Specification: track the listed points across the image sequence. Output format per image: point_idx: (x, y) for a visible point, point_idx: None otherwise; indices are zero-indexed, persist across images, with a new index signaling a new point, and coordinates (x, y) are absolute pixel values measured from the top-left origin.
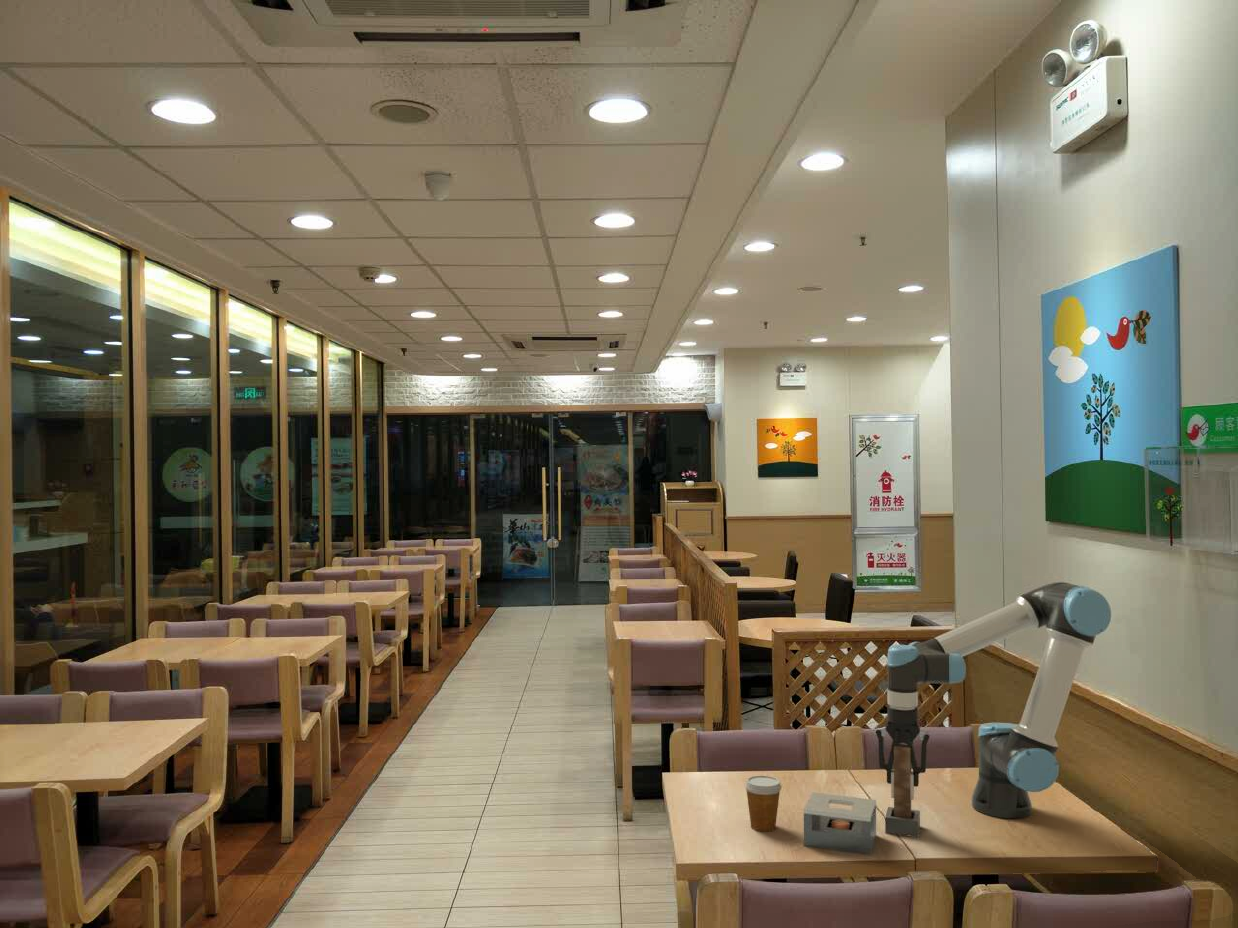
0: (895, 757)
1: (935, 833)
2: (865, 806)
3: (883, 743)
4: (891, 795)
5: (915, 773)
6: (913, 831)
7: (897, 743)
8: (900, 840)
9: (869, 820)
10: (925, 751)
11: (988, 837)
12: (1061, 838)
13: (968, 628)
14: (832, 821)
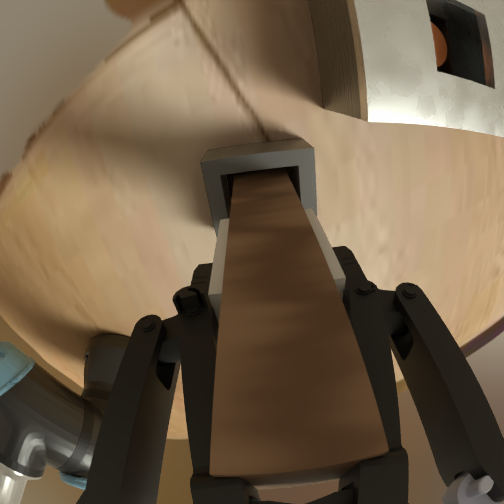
0: (348, 358)
1: (174, 202)
2: (390, 27)
3: (458, 430)
4: (313, 212)
5: (188, 293)
6: (219, 151)
7: (342, 474)
8: (249, 101)
9: None
10: (101, 438)
11: (78, 239)
12: (20, 288)
13: None
14: (445, 50)
